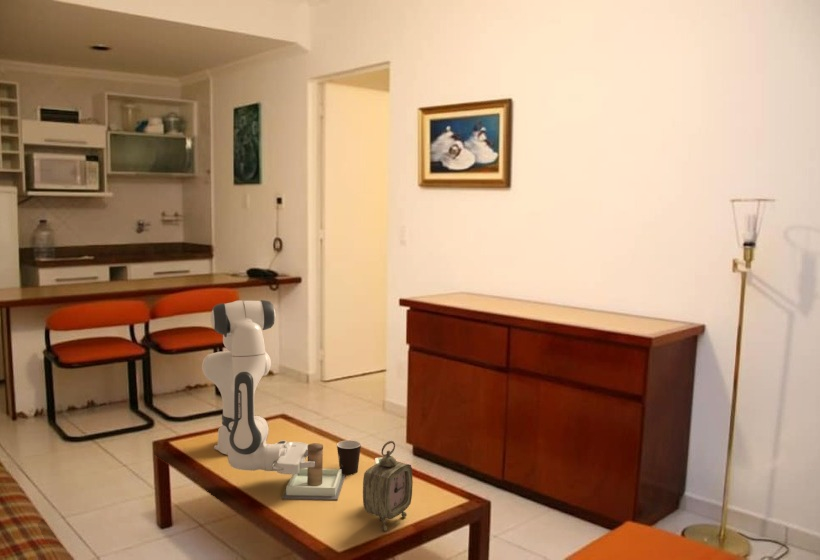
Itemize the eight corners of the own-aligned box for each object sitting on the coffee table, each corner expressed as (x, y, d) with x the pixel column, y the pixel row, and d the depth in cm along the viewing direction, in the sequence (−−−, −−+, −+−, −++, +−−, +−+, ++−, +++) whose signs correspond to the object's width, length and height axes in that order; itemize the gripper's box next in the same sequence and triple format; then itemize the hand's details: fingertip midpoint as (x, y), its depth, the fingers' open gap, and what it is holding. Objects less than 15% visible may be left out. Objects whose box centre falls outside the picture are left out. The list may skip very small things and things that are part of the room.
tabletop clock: (385, 535, 195) (386, 451, 192) (360, 527, 200) (360, 445, 197) (412, 516, 207) (413, 437, 204) (387, 509, 212) (388, 432, 209)
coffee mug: (357, 476, 237) (357, 449, 236) (333, 474, 239) (333, 447, 238) (365, 464, 248) (365, 438, 247) (343, 462, 250) (343, 436, 249)
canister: (308, 480, 231) (309, 442, 229) (323, 480, 230) (324, 443, 229) (305, 485, 225) (306, 448, 224) (321, 486, 225) (321, 448, 224)
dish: (296, 475, 236) (296, 468, 236) (341, 476, 236) (341, 469, 235) (286, 495, 220) (286, 486, 220) (335, 496, 220) (335, 487, 219)
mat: (294, 474, 238) (294, 473, 238) (345, 476, 238) (345, 474, 238) (281, 499, 218) (281, 497, 218) (337, 500, 218) (337, 498, 218)
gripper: (269, 460, 217) (311, 461, 216) (283, 438, 237) (322, 439, 237) (269, 478, 217) (311, 480, 217) (283, 455, 238) (322, 456, 237)
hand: (317, 458), depth 227 cm, fingers open, 8 cm apart
